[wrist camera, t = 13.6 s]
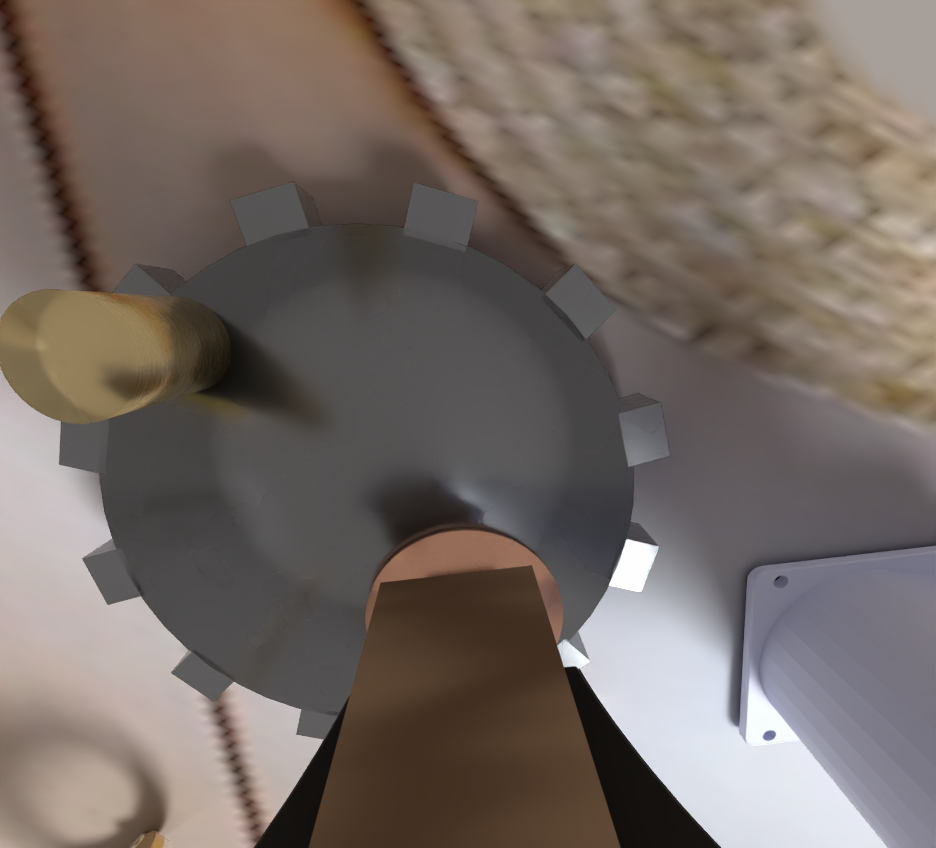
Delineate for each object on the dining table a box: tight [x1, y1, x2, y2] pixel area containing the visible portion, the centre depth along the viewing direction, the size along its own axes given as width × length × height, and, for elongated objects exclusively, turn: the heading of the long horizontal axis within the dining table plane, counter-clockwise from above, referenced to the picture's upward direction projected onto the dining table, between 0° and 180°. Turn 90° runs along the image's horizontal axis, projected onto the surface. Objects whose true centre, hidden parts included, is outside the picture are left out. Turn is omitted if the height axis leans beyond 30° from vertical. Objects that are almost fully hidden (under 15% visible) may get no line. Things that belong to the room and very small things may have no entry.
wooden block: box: [309, 565, 620, 848], centre depth 9 cm, size 4×5×7 cm
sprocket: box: [0, 182, 670, 739], centre depth 12 cm, size 17×17×5 cm
